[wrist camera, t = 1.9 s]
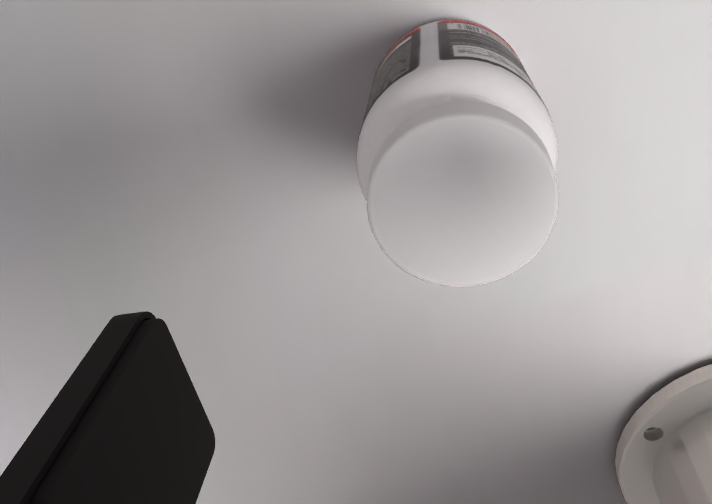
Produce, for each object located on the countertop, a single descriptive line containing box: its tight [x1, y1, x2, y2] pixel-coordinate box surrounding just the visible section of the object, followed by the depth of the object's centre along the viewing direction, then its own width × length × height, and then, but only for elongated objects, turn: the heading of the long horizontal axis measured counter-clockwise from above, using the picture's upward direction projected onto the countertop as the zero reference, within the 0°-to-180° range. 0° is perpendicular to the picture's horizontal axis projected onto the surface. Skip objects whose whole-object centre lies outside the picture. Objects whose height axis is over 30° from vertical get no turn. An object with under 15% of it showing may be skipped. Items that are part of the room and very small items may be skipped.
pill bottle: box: [357, 20, 559, 287], centre depth 20 cm, size 6×6×10 cm
